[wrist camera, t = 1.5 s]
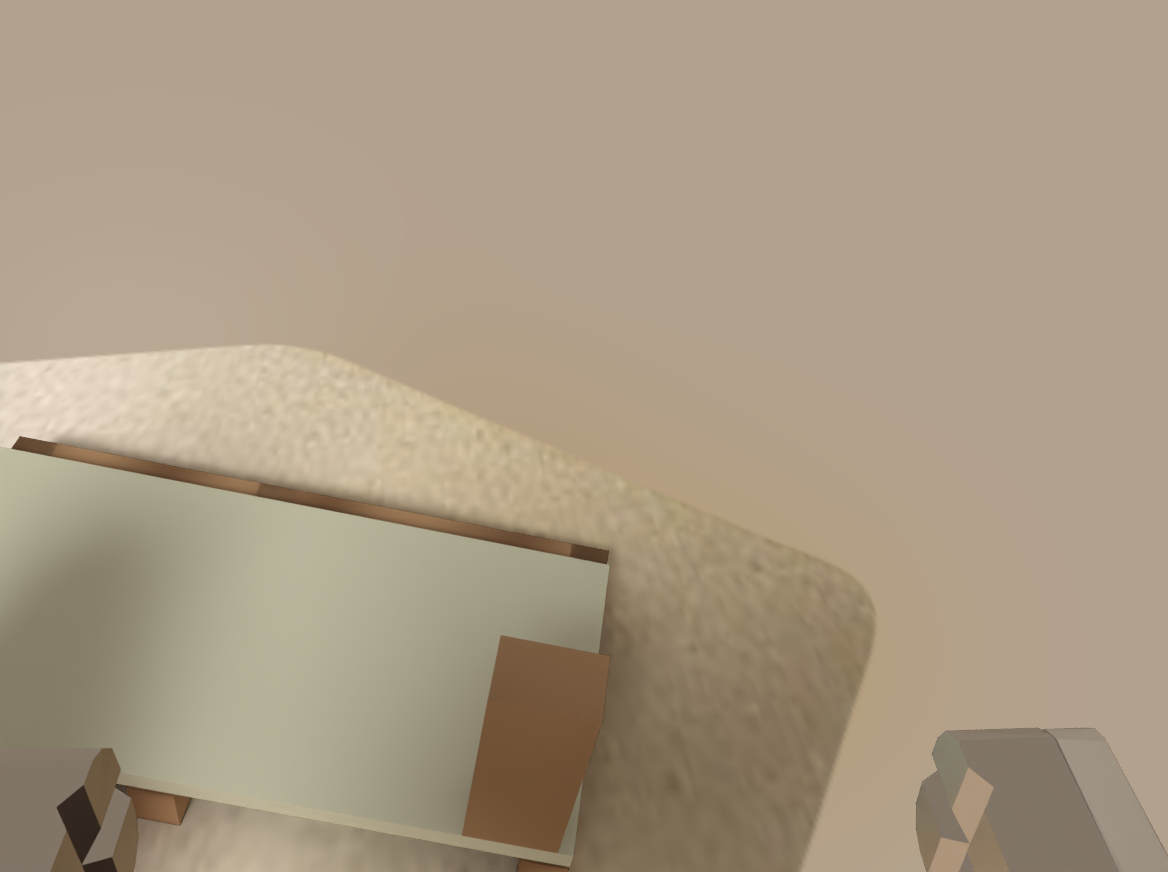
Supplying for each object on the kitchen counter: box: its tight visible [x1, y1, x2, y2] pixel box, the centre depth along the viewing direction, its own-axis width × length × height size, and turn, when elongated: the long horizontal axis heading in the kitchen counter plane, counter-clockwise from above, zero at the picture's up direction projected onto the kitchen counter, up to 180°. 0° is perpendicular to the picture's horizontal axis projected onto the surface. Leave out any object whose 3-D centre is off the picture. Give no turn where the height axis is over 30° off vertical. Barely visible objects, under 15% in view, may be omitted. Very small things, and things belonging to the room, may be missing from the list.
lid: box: [0, 447, 610, 867], centre depth 35 cm, size 24×12×9 cm, turn 83°
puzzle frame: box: [12, 436, 609, 872], centre depth 39 cm, size 24×13×2 cm, turn 83°
